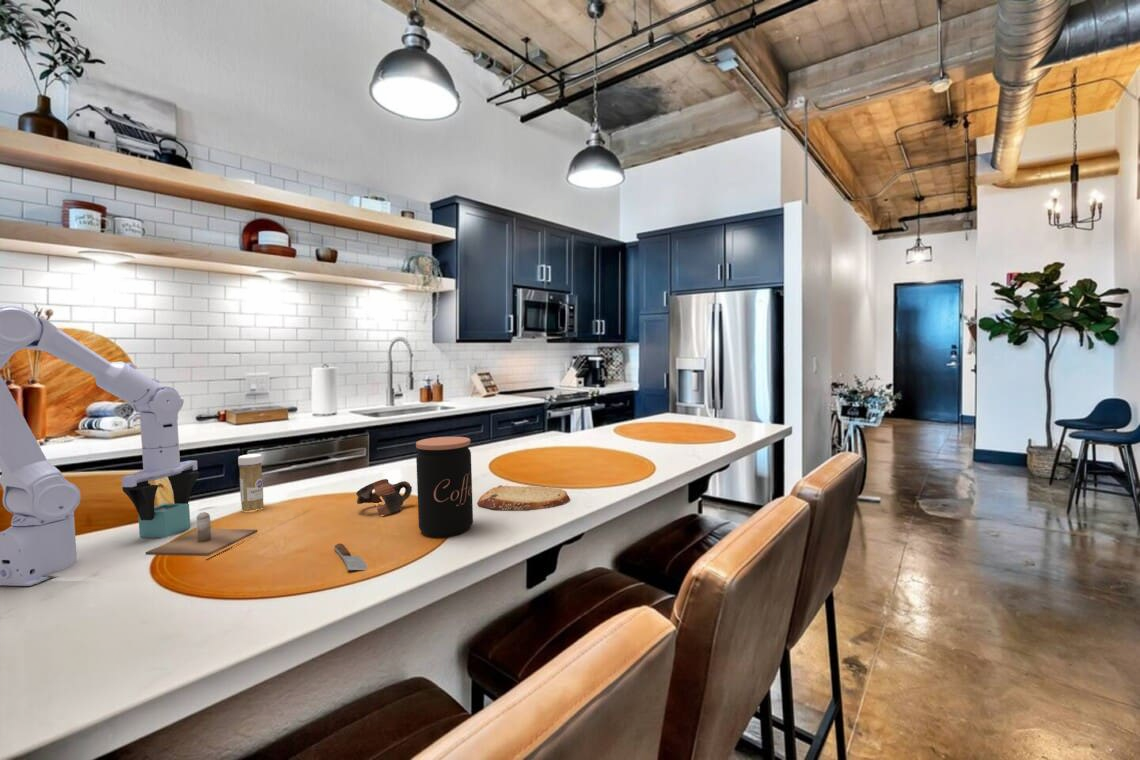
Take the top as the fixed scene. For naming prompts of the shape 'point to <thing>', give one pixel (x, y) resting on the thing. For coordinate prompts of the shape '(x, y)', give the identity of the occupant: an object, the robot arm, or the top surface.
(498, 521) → the top surface
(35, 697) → the top surface
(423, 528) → the coffee jar
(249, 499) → the sprinkles bottle
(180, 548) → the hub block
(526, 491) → the slice of bread
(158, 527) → the teal collar
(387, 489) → the pottery mug
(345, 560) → the cleaver
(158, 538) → the round base with peg
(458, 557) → the top surface
